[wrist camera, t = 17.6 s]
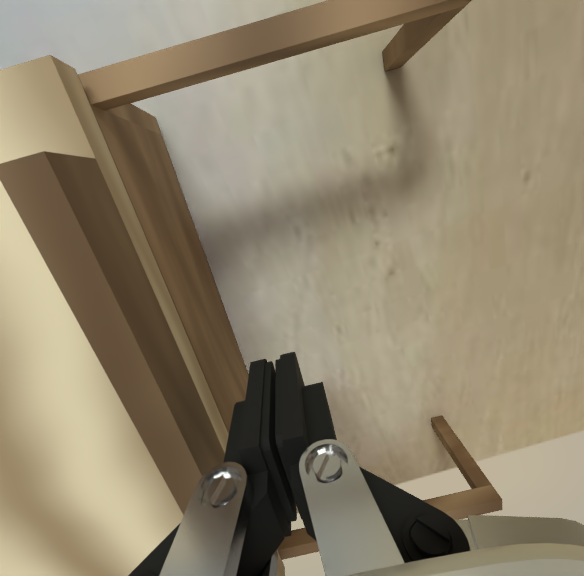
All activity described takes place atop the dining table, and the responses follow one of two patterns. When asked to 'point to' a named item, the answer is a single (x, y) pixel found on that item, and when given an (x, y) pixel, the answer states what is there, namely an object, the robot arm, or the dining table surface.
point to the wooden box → (174, 211)
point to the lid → (86, 350)
